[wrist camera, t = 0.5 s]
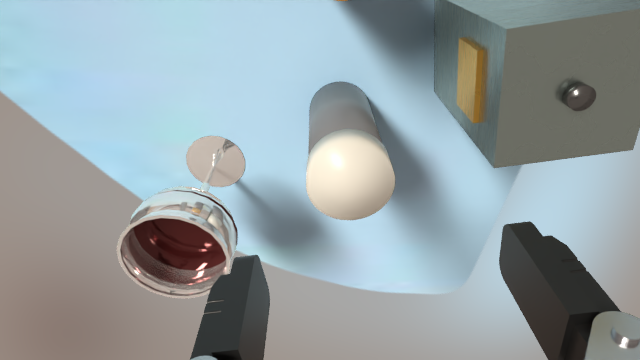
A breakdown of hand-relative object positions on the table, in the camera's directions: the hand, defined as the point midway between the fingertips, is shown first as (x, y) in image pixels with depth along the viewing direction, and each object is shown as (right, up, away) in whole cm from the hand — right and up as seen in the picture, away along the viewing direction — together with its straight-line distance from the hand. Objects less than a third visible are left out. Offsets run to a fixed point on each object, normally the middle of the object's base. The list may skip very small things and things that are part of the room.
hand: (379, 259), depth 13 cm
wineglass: (-11, +4, +21) cm, 24 cm away
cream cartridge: (0, +8, +19) cm, 20 cm away
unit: (+10, +13, +16) cm, 23 cm away
